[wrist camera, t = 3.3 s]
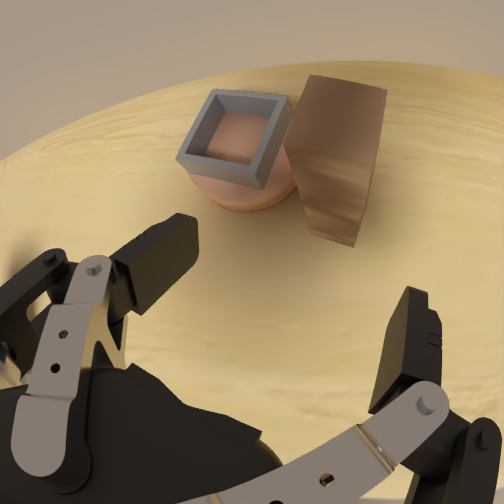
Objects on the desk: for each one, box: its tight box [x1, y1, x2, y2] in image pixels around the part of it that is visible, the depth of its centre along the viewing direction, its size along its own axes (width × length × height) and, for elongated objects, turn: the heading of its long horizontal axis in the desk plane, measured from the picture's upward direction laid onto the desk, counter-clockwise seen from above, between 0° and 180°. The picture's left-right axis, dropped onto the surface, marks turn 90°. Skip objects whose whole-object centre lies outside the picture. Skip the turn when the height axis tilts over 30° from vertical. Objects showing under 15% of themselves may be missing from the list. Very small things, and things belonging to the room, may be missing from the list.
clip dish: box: [176, 89, 297, 212], centre depth 24 cm, size 10×10×6 cm
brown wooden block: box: [283, 75, 387, 247], centre depth 17 cm, size 4×4×13 cm
